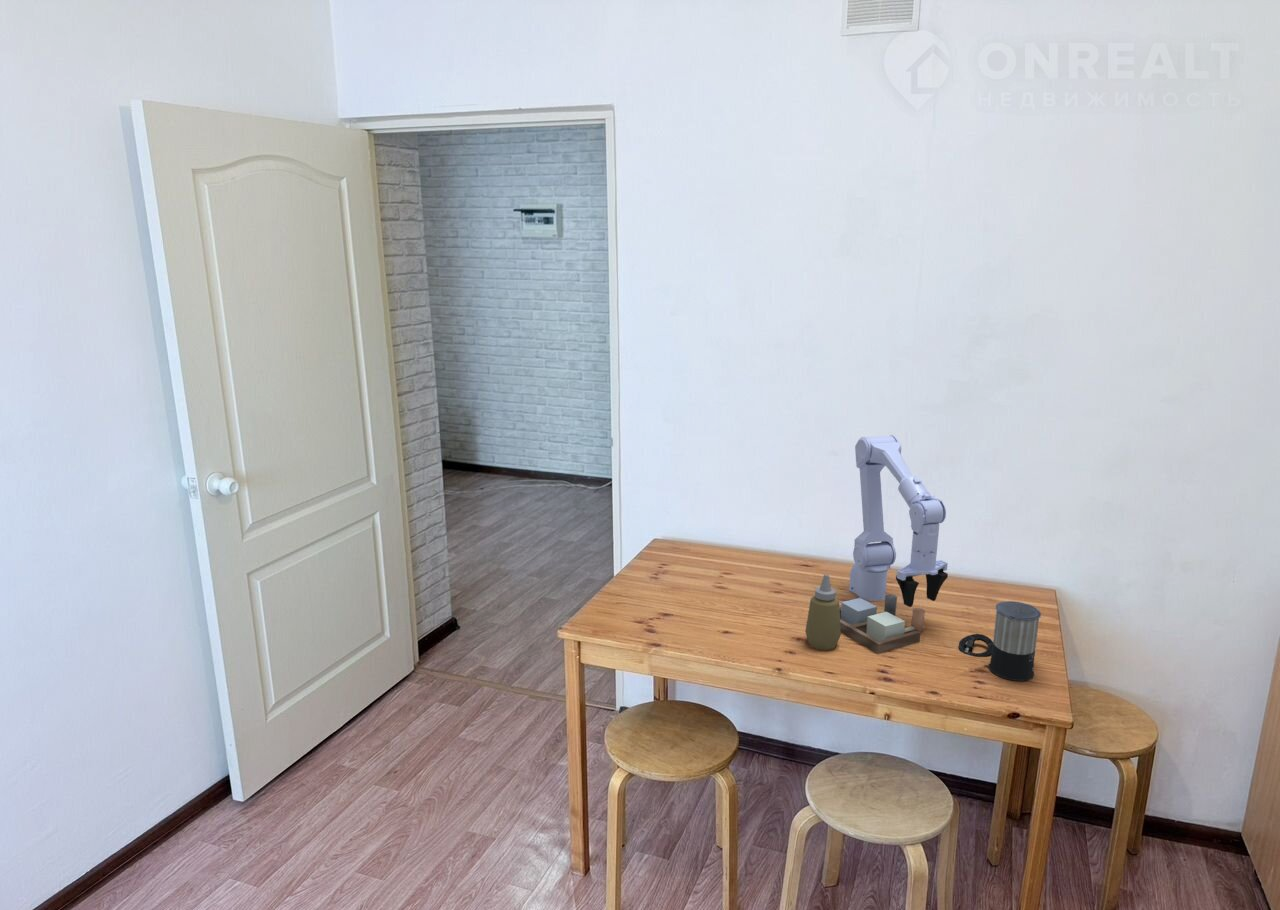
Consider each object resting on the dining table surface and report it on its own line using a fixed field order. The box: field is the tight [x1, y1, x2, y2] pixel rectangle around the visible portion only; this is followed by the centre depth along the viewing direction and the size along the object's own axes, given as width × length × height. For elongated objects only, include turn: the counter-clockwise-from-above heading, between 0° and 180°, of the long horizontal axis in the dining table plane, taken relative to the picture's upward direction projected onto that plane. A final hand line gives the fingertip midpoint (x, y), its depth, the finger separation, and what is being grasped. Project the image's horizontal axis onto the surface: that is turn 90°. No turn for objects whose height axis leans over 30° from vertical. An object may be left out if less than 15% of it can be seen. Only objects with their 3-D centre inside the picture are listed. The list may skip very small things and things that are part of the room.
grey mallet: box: [840, 593, 898, 625], centre depth 204 cm, size 6×15×5 cm, turn 117°
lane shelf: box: [839, 606, 921, 655], centre depth 201 cm, size 20×28×3 cm
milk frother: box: [958, 600, 1042, 682], centre depth 183 cm, size 14×16×15 cm
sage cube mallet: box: [866, 607, 926, 641], centre depth 196 cm, size 6×15×5 cm, turn 117°
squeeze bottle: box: [804, 574, 841, 651], centre depth 190 cm, size 8×8×18 cm
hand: (919, 602), depth 197 cm, fingers open, 7 cm apart
